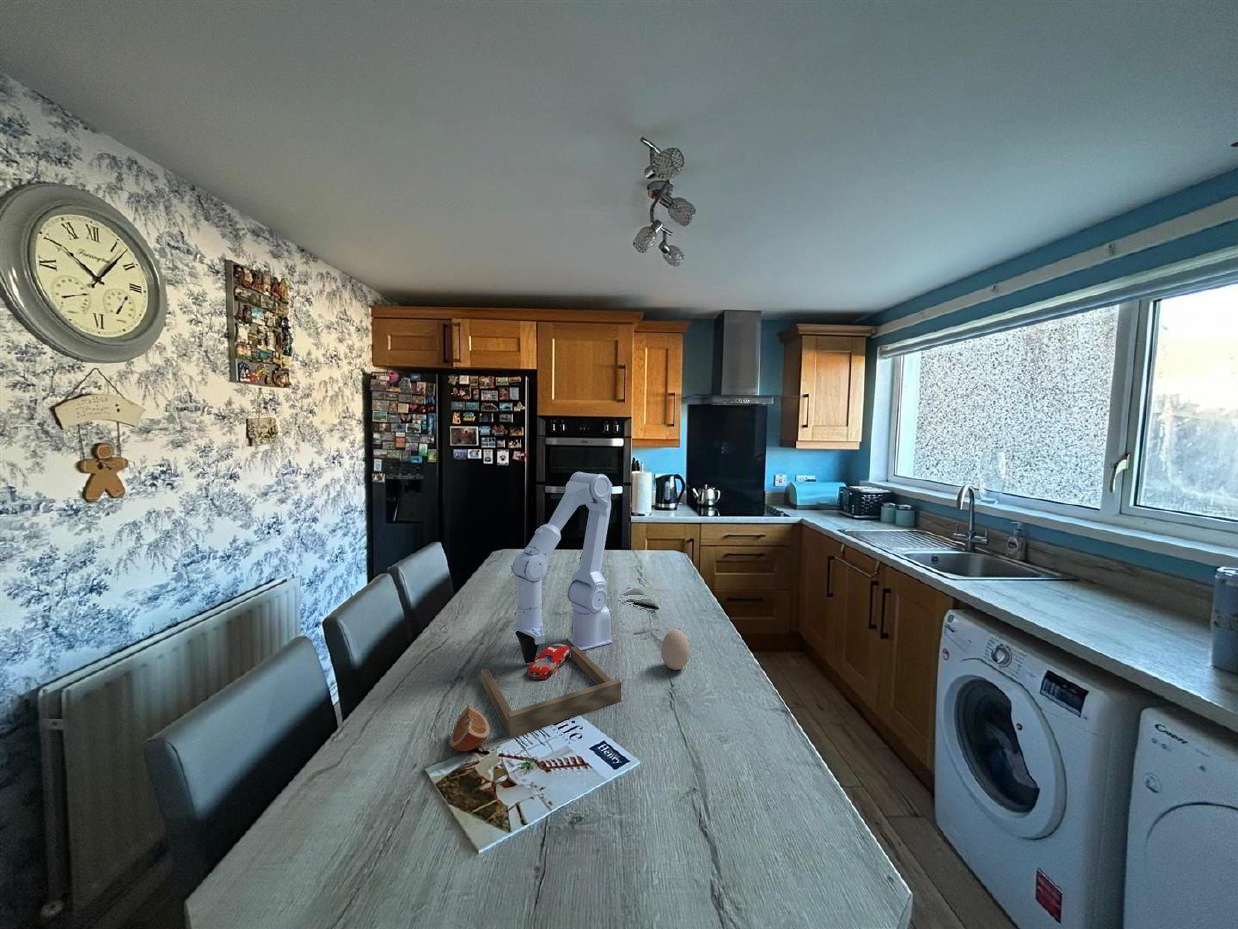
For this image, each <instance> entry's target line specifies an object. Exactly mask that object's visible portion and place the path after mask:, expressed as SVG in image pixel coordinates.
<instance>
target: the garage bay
mask: <svg viewBox="0 0 1238 929" xmlns="http://www.w3.org/2000/svg"><path fill="white" fill-rule="evenodd" d="M570 658H571V660H572V661H574V663H576V664H577V665H578V666H579V668H580V669H581V670H582V671H583V672H584V673H585V674H586V675H587V676H588V677H589V678H590V679H591V680H592V681H593V682H594V683H595V684H596V685H593V686H590V687H587V688H586V687H585V688H583V689H580V690H576V691H574V692H573V691H572V692H569V693H567V694H562V695H560V696H556V697H553V698H550V699H547V700H544V701H540V702H537V703H534V704H530V705H528V706H524V707H520V708H518V709H514V710H512V708H511V706H510V705H509V703H508V702H507V700H506V698H505V696H504V694H503V692H501V689H500V688H499V685H498V684H497V682H496V681H495V679H494V677H493V675H492V674H491V672H490V670H489V668H484V669H481V670H480V683H481V684H482V686H483V688H484V690H485V692H486V694H487V696H488V698H489V700H490V701H491V703H492V707H494V709H495V711H496V714H497V715H498V717H499V719H500V721H501V723H502V725H503V726H504V727H503V728H504V729H505V731H506V733H507V735H508V736H509V738H510V739H513V738H515V737H518V736H520V735H524V734H527V733H530V732H533V731H536V730H539V729H542V728H545V727H548V726H550V724H551V725H554V724H557V723H560V722H563V721H566V720H569V719H572V718H575V717H578V716H580V715H583V714H587V713H589V712H594V711H595V710H599V709H602V708H604V707H607V706H610V705H611V706H612V705H614V704H617V703H619V702H622V681H621V680H620V679H619V678H616V679H611V677H610V676H608V675H607V674H606V673H605V671H604V670H602V669H601V668H600V667H599V666H598V665H597V663H595V662H593V661H592V659H591V658H590V657H588V656H587V655H586V654H585V652H584V651H583V650H582V651H581V650H580V649H579V648H578V647H577V646H572V647H570ZM568 718H569V719H568ZM565 719H566V720H565Z"/></svg>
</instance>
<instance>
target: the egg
mask: <svg viewBox="0 0 1238 929" xmlns="http://www.w3.org/2000/svg"><path fill="white" fill-rule="evenodd" d="M690 647H691V646H690V643H689V640H688V639H687V636H686V635H685V634H684V633H683V632H682V631H681V630H679V629H672V630H669V631H668V632H667V633H666V635H665V636H664V638H663V639H662V641H661V647H660V651H661V654H660V655H661V659H662V660H663V662H664V664H665V665H666V666H667V667H668V668H669V669H671V670H674V671H677V670H680V669H683V667H685V666H686V665H687V663H688V662H689V660H690V655H691V648H690Z"/></svg>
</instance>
